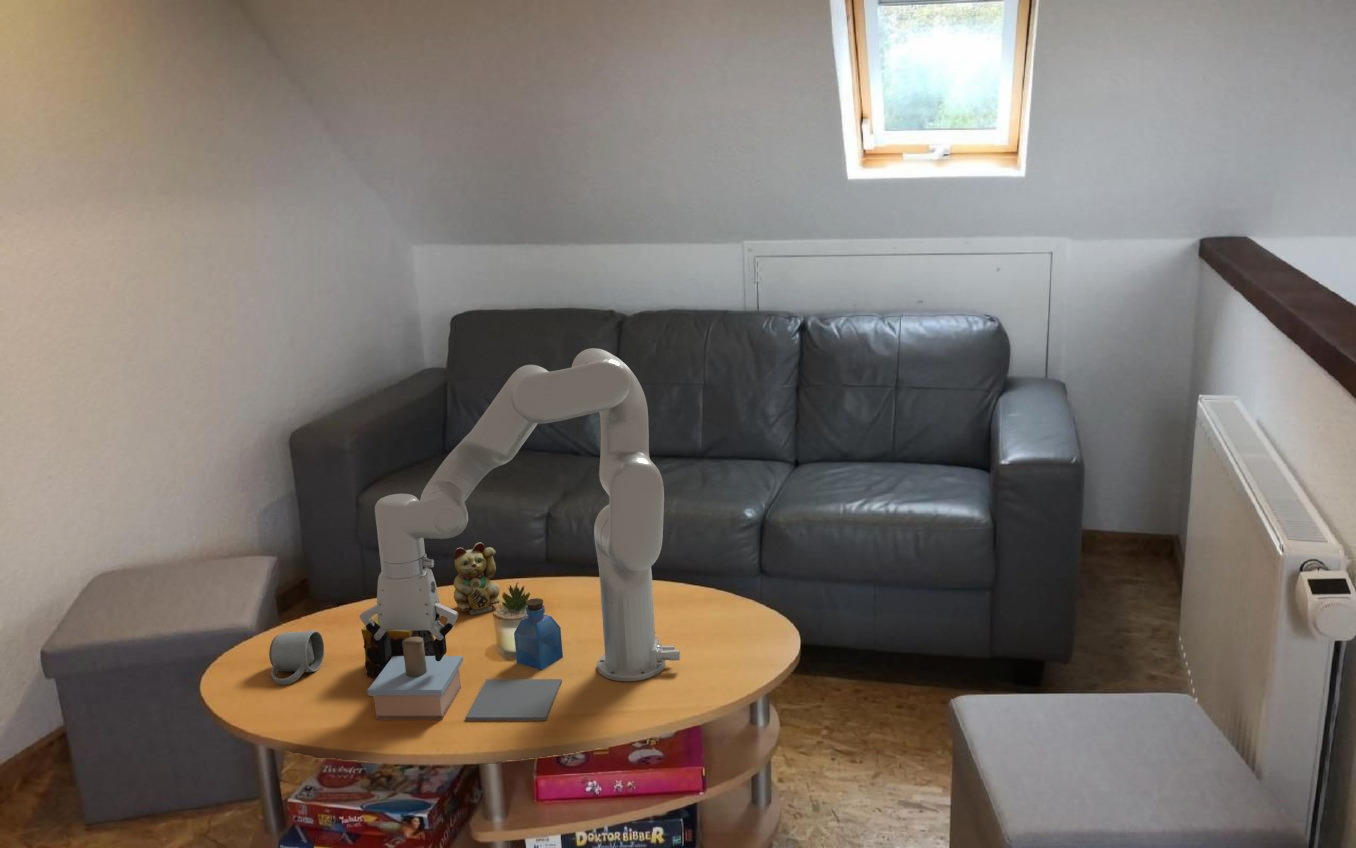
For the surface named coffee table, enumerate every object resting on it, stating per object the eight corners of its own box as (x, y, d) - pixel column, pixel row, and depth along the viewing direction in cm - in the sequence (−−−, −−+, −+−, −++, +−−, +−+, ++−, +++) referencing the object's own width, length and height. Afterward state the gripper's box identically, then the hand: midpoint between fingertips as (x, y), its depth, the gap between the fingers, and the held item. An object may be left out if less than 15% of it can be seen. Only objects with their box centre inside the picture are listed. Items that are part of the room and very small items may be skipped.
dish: (461, 688, 204) (458, 662, 203) (442, 720, 193) (439, 693, 192) (399, 688, 205) (396, 663, 204) (376, 719, 194) (373, 693, 193)
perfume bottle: (562, 657, 214) (558, 598, 211) (541, 670, 209) (536, 610, 206) (538, 650, 218) (533, 593, 215) (516, 663, 213) (511, 604, 210)
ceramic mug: (287, 660, 219) (281, 624, 217) (327, 660, 218) (321, 624, 216) (261, 686, 209) (255, 649, 207) (303, 687, 208) (297, 649, 206)
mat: (561, 682, 204) (561, 679, 204) (546, 720, 191) (545, 717, 191) (486, 682, 206) (486, 679, 206) (465, 720, 192) (465, 717, 192)
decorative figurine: (461, 620, 234) (454, 552, 230) (449, 607, 241) (442, 541, 237) (505, 609, 238) (499, 542, 235) (492, 596, 245) (485, 531, 242)
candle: (415, 682, 207) (409, 632, 205) (365, 679, 210) (359, 630, 207) (437, 657, 217) (432, 609, 215) (389, 655, 219) (383, 607, 217)
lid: (463, 661, 203) (459, 625, 202) (442, 695, 191) (437, 657, 189) (393, 661, 205) (389, 625, 203) (368, 695, 192) (363, 657, 190)
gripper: (459, 558, 195) (467, 648, 200) (363, 558, 197) (373, 648, 201) (446, 574, 188) (455, 667, 192) (346, 574, 190) (357, 667, 194)
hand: (413, 657), depth 197 cm, fingers open, 9 cm apart
